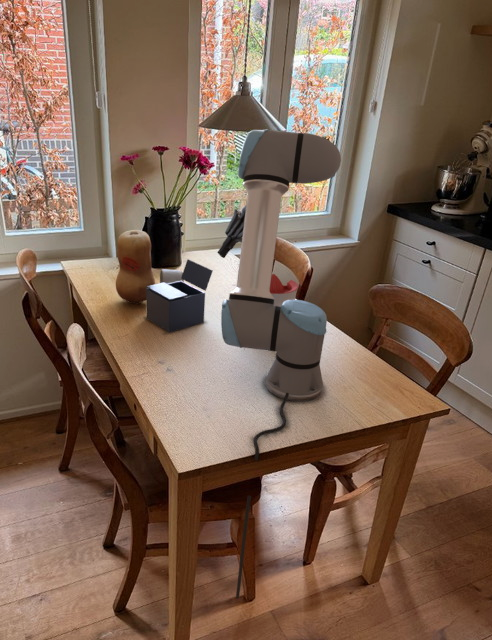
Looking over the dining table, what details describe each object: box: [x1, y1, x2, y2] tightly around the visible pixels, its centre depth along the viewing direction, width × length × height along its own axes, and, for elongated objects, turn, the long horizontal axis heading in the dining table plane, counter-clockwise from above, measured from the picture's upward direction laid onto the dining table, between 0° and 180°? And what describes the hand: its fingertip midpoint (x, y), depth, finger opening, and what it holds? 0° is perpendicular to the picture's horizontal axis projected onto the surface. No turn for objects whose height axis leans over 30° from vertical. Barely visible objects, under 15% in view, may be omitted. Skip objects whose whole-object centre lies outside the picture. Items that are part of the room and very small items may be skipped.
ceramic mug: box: [159, 268, 185, 284], centre depth 200 cm, size 11×8×8 cm
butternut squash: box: [115, 229, 156, 305], centre depth 182 cm, size 14×13×25 cm
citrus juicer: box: [270, 273, 299, 306], centre depth 168 cm, size 16×17×20 cm
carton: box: [145, 281, 206, 334], centre depth 174 cm, size 14×13×11 cm
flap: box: [181, 258, 213, 292], centre depth 174 cm, size 7×13×1 cm
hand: (220, 255), depth 178 cm, fingers closed
